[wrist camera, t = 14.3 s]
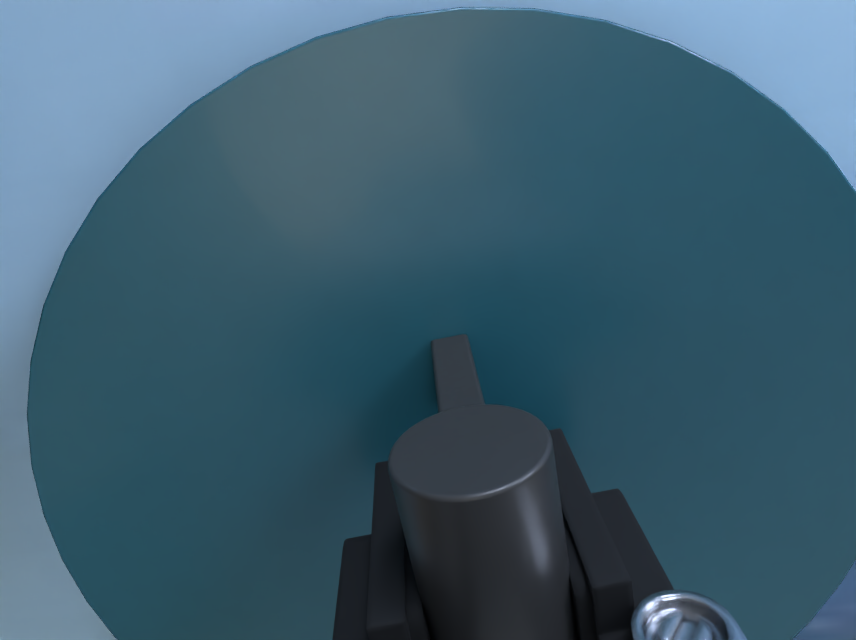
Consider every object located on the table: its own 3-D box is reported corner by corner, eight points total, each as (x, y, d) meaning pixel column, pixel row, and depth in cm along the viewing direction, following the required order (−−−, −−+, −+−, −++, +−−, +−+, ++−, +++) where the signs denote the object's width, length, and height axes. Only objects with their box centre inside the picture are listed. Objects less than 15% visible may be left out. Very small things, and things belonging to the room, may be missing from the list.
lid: (900, -83, 11) (1489, -269, 5) (849, 670, 17) (1082, 979, 11) (-100, 123, 11) (-633, 173, 5) (207, 779, 18) (112, 1128, 12)
